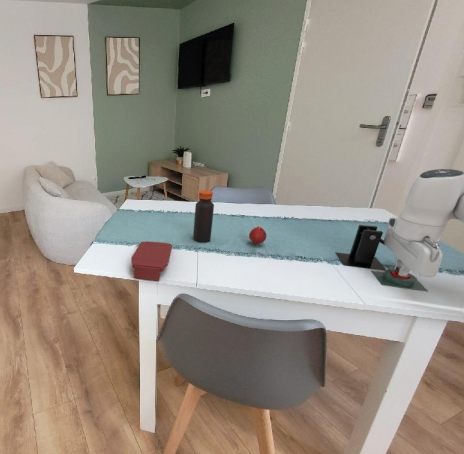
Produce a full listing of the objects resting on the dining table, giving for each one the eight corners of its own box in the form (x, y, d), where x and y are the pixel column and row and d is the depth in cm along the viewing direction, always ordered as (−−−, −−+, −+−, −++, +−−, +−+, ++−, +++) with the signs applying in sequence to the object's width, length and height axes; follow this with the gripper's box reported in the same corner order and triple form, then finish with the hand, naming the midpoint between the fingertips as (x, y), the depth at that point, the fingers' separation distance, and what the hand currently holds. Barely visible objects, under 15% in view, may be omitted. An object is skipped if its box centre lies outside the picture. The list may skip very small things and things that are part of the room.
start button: (403, 276, 85) (405, 271, 85) (409, 283, 82) (412, 278, 82) (387, 274, 87) (389, 269, 86) (393, 281, 84) (395, 276, 83)
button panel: (411, 279, 87) (415, 270, 85) (426, 294, 80) (431, 285, 79) (369, 273, 90) (372, 265, 89) (380, 288, 83) (384, 279, 82)
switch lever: (393, 251, 93) (400, 246, 92) (401, 259, 89) (409, 253, 87) (358, 230, 94) (365, 225, 93) (364, 237, 90) (371, 231, 89)
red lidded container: (141, 252, 118) (127, 276, 95) (141, 240, 117) (128, 262, 94) (171, 255, 114) (165, 281, 91) (172, 243, 113) (166, 267, 90)
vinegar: (191, 236, 122) (194, 189, 114) (207, 235, 121) (212, 189, 113) (195, 243, 115) (199, 194, 107) (212, 242, 115) (217, 194, 107)
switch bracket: (374, 259, 97) (386, 224, 92) (386, 273, 90) (400, 236, 85) (334, 255, 101) (344, 221, 96) (342, 268, 94) (354, 232, 89)
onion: (249, 240, 115) (252, 221, 112) (265, 243, 112) (269, 224, 109) (246, 245, 111) (249, 226, 108) (263, 249, 108) (266, 229, 105)
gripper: (459, 248, 68) (435, 296, 74) (414, 218, 86) (397, 258, 91) (424, 245, 71) (403, 292, 76) (386, 216, 88) (372, 256, 93)
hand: (400, 273), depth 84 cm, fingers closed, pressing on start button
